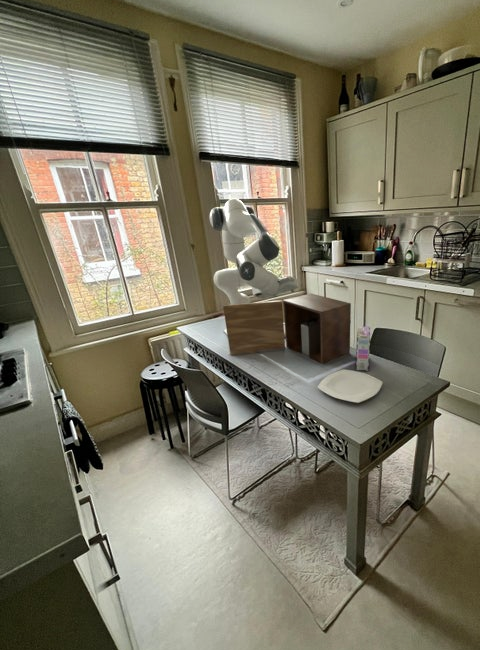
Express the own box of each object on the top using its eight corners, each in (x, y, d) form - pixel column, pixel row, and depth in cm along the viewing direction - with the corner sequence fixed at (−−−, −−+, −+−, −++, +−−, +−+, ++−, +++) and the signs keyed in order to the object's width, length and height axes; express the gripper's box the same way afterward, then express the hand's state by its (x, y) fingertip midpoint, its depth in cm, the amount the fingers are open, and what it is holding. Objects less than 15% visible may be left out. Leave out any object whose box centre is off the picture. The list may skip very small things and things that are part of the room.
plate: (360, 411, 112) (360, 407, 111) (309, 391, 126) (309, 387, 125) (389, 385, 128) (390, 381, 127) (341, 369, 142) (342, 366, 141)
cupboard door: (231, 349, 168) (224, 302, 157) (284, 344, 171) (280, 297, 161) (230, 355, 162) (223, 305, 151) (285, 349, 165) (281, 300, 155)
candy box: (368, 371, 139) (370, 337, 133) (355, 370, 141) (356, 336, 134) (369, 358, 152) (370, 325, 145) (356, 357, 153) (357, 325, 146)
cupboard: (322, 366, 146) (321, 311, 135) (286, 349, 166) (283, 300, 155) (349, 355, 156) (350, 303, 145) (312, 340, 176) (310, 293, 165)
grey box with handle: (302, 352, 158) (300, 320, 151) (315, 347, 163) (314, 316, 156) (309, 355, 154) (308, 323, 147) (322, 350, 159) (322, 318, 152)
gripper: (289, 269, 129) (304, 280, 141) (248, 282, 138) (266, 291, 150) (291, 284, 128) (305, 293, 140) (249, 296, 136) (267, 304, 149)
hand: (285, 292), depth 145 cm, fingers open, 8 cm apart
